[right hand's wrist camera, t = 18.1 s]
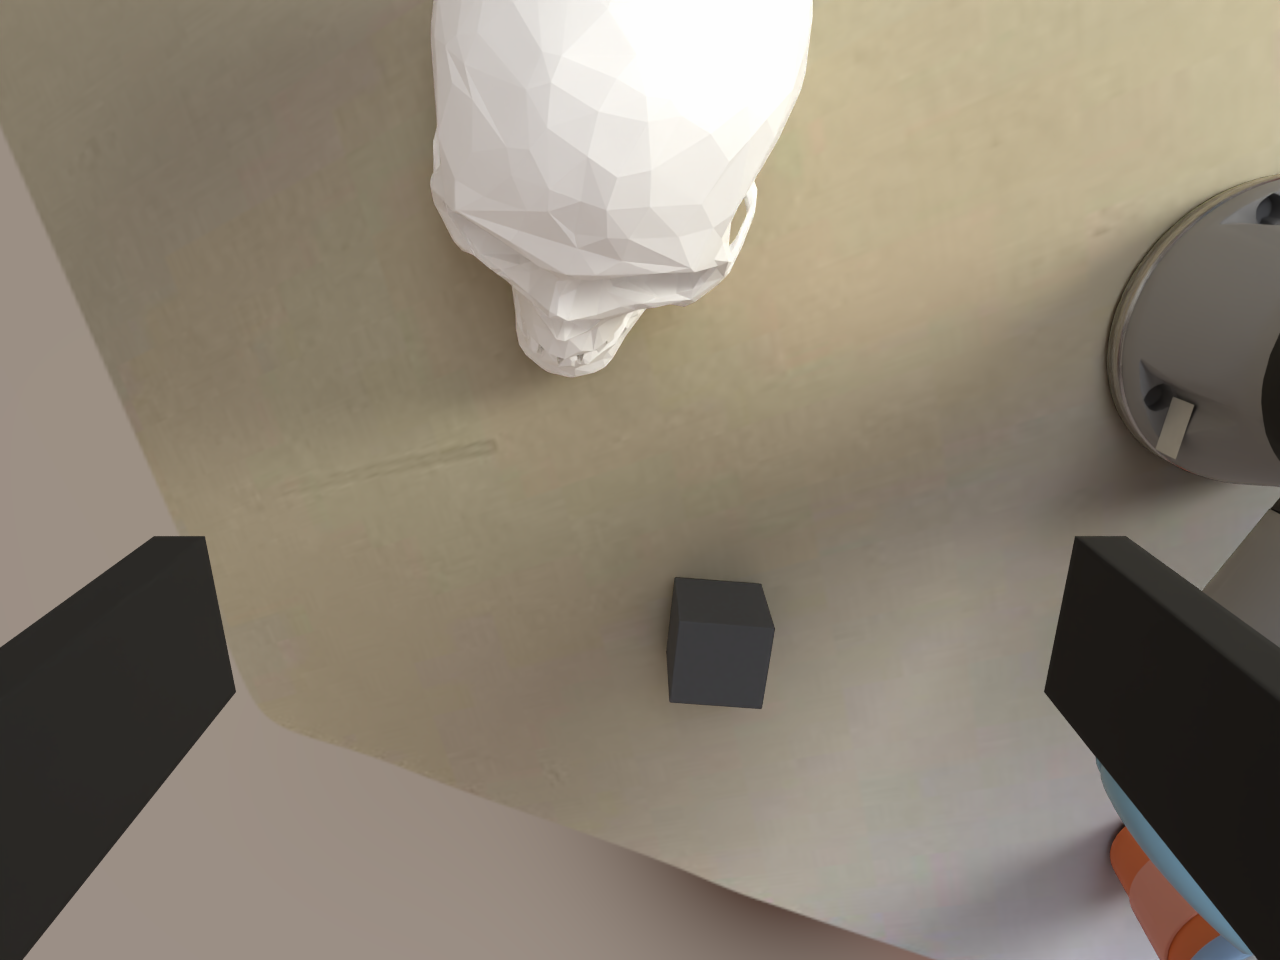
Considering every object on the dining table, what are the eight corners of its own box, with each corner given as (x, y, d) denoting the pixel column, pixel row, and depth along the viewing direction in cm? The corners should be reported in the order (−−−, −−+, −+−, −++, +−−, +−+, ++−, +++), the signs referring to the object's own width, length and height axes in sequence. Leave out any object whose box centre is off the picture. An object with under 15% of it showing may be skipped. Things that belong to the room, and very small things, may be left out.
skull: (447, 351, 42) (357, 446, 27) (493, -159, 34) (405, -417, 19) (700, 392, 43) (749, 505, 28) (799, -92, 35) (935, -286, 21)
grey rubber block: (674, 576, 46) (678, 620, 42) (761, 583, 47) (775, 628, 42) (666, 652, 48) (669, 702, 43) (750, 658, 48) (762, 709, 44)
